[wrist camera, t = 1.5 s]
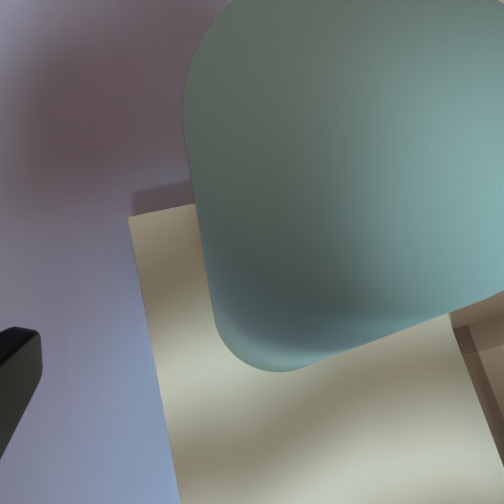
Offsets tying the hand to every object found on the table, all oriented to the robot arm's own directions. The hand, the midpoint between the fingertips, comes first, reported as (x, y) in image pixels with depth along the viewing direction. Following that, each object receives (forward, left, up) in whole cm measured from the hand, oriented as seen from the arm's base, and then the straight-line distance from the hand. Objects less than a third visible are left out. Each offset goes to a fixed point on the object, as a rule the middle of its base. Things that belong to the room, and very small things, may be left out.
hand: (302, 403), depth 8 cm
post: (+3, -1, -10) cm, 10 cm away
